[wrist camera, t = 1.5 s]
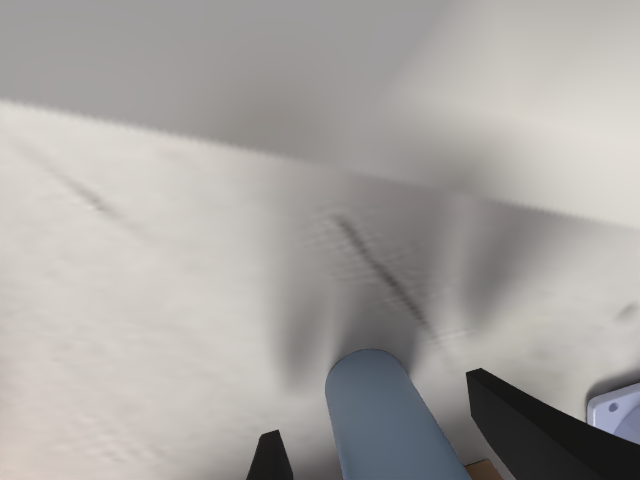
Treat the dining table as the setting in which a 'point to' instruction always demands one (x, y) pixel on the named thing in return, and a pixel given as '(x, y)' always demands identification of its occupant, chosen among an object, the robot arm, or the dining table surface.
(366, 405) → the peg
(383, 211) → the dining table surface
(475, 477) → the walnut box
